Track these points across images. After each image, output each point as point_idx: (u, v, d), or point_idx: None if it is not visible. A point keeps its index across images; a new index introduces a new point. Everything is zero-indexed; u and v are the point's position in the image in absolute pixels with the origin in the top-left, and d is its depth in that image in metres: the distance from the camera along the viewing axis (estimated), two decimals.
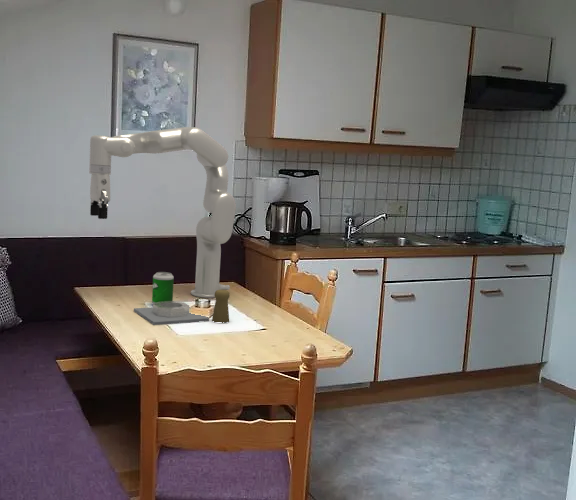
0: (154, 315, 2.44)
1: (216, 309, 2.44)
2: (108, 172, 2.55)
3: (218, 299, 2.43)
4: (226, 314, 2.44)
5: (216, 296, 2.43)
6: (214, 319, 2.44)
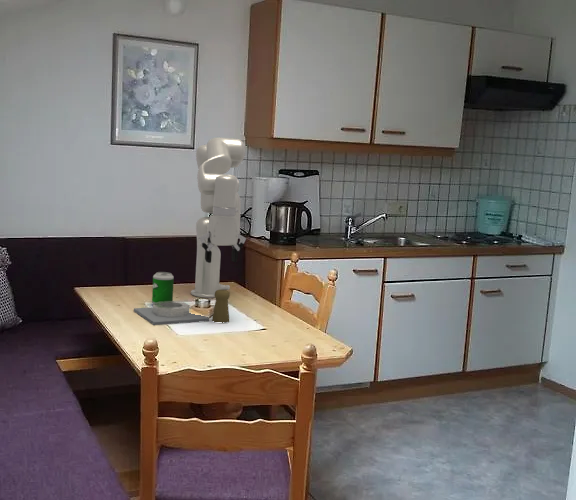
0: (154, 315, 2.44)
1: (216, 309, 2.44)
2: None
3: (218, 299, 2.43)
4: (226, 314, 2.44)
5: (216, 296, 2.43)
6: (214, 319, 2.44)
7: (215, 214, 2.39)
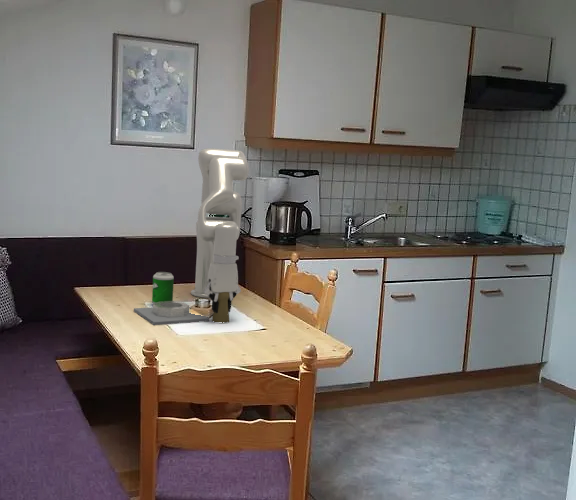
0: (154, 315, 2.44)
1: None
2: None
3: (218, 299, 2.43)
4: (226, 314, 2.44)
5: None
6: (214, 319, 2.44)
7: (215, 262, 2.41)
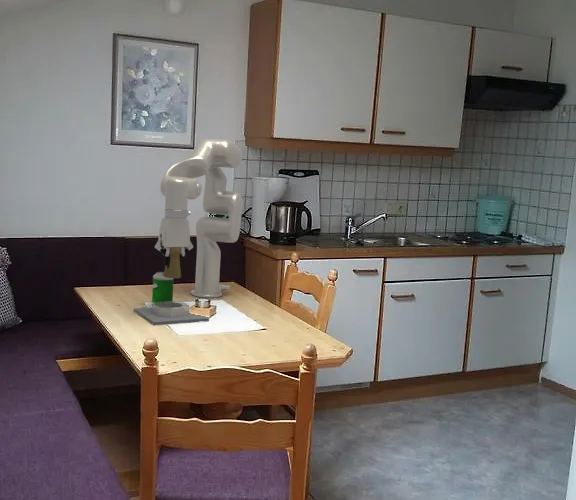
0: (154, 315, 2.44)
1: None
2: None
3: (169, 254, 2.43)
4: (177, 269, 2.44)
5: None
6: (165, 274, 2.44)
7: (166, 217, 2.41)
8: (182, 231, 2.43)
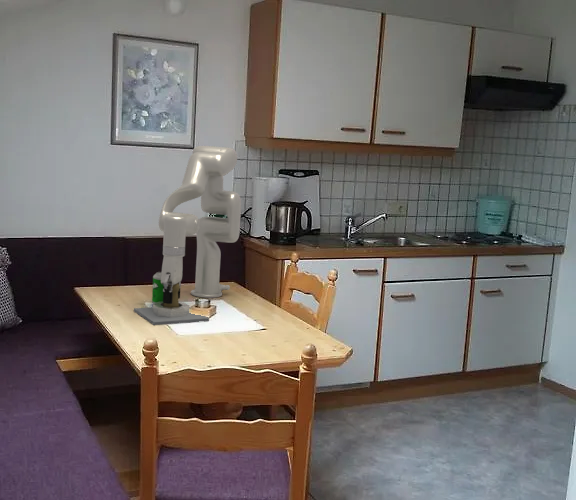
0: (154, 315, 2.44)
1: None
2: None
3: (173, 292, 2.45)
4: (178, 305, 2.48)
5: None
6: None
7: (173, 254, 2.42)
8: (181, 266, 2.47)
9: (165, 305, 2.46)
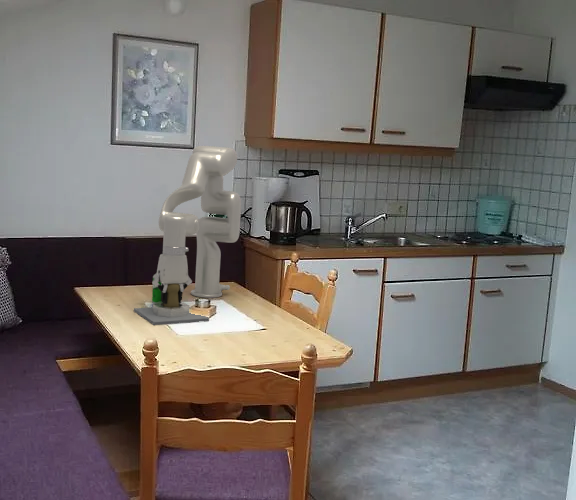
0: (154, 315, 2.44)
1: (171, 302, 2.45)
2: None
3: (173, 292, 2.45)
4: (178, 305, 2.48)
5: (171, 289, 2.44)
6: None
7: (164, 253, 2.43)
8: (180, 267, 2.45)
9: (165, 305, 2.46)
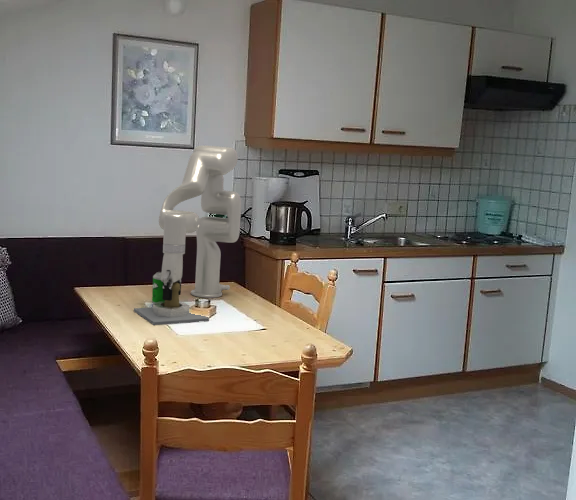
0: (154, 315, 2.44)
1: (177, 301, 2.47)
2: None
3: (178, 291, 2.47)
4: None
5: (178, 289, 2.46)
6: None
7: (173, 252, 2.41)
8: (181, 264, 2.47)
9: (171, 306, 2.45)
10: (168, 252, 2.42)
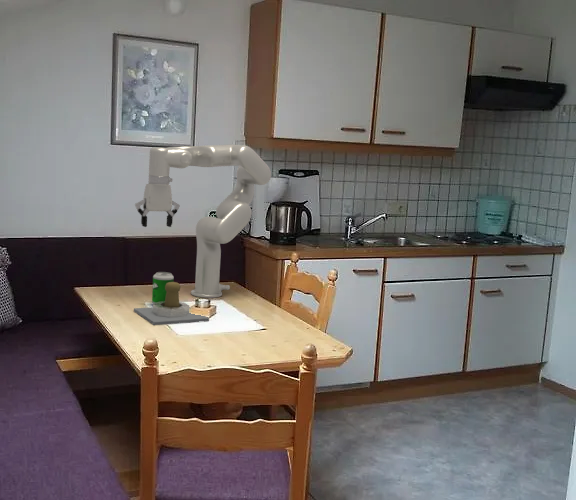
0: (154, 315, 2.44)
1: (177, 301, 2.47)
2: None
3: (178, 291, 2.47)
4: None
5: (178, 289, 2.46)
6: None
7: (150, 182, 2.62)
8: (164, 196, 2.64)
9: (171, 306, 2.45)
10: (148, 182, 2.63)
